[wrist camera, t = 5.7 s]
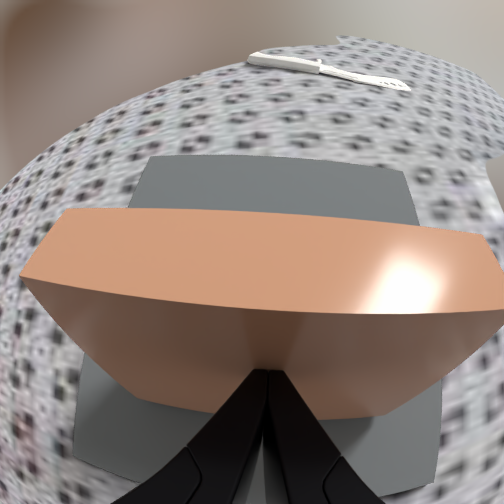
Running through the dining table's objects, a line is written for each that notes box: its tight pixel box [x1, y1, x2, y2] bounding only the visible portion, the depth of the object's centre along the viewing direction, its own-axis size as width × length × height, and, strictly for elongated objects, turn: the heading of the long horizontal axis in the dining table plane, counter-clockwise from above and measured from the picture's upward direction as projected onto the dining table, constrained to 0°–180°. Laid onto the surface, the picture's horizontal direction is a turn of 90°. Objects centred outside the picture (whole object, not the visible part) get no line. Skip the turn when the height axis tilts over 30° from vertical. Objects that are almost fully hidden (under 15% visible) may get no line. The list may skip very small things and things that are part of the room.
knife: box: [248, 52, 412, 91], centre depth 32 cm, size 31×6×2 cm, turn 84°
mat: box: [73, 155, 442, 504], centre depth 16 cm, size 24×22×1 cm
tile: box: [19, 208, 504, 420], centre depth 9 cm, size 3×13×10 cm, turn 85°
